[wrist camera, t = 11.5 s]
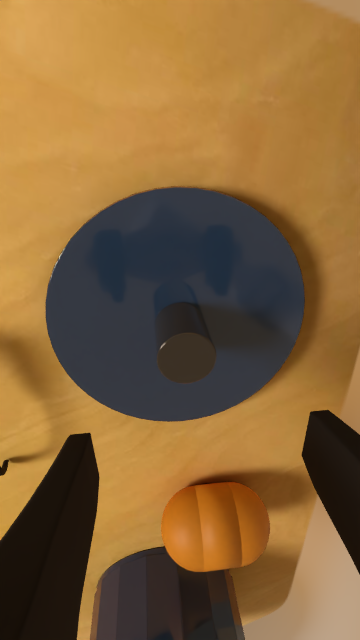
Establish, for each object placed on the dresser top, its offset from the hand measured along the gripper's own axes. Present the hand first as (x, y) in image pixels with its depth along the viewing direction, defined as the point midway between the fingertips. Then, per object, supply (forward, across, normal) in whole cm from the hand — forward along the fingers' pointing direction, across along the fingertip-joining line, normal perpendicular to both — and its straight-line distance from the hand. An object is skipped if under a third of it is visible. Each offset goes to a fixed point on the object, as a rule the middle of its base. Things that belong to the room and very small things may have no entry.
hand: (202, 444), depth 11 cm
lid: (+8, 0, -1) cm, 8 cm away
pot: (+8, +2, +27) cm, 28 cm away
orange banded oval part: (+8, -2, +15) cm, 17 cm away
